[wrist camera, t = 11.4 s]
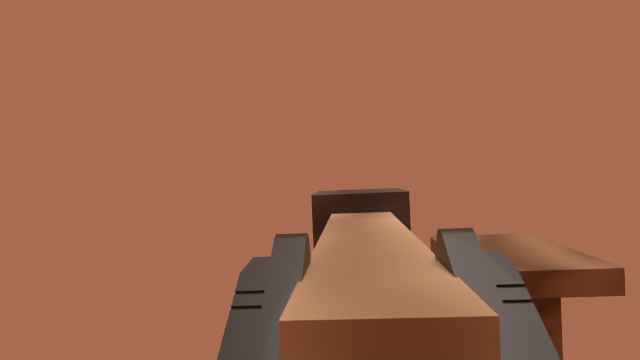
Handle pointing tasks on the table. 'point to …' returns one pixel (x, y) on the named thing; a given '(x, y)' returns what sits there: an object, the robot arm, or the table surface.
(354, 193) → the stamp
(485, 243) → the stamp rack
